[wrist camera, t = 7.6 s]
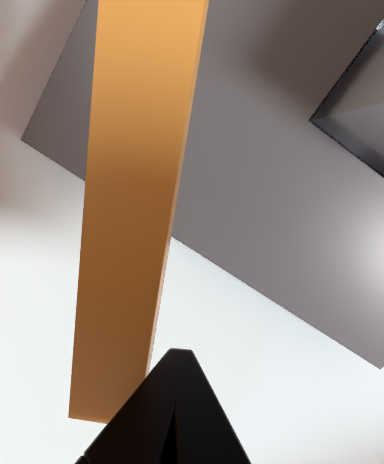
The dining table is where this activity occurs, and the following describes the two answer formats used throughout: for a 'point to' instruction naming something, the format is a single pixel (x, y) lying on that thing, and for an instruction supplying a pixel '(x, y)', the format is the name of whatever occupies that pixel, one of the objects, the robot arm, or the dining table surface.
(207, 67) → the socket board
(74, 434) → the dining table surface
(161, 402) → the robot arm
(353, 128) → the plug
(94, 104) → the long orange beam
